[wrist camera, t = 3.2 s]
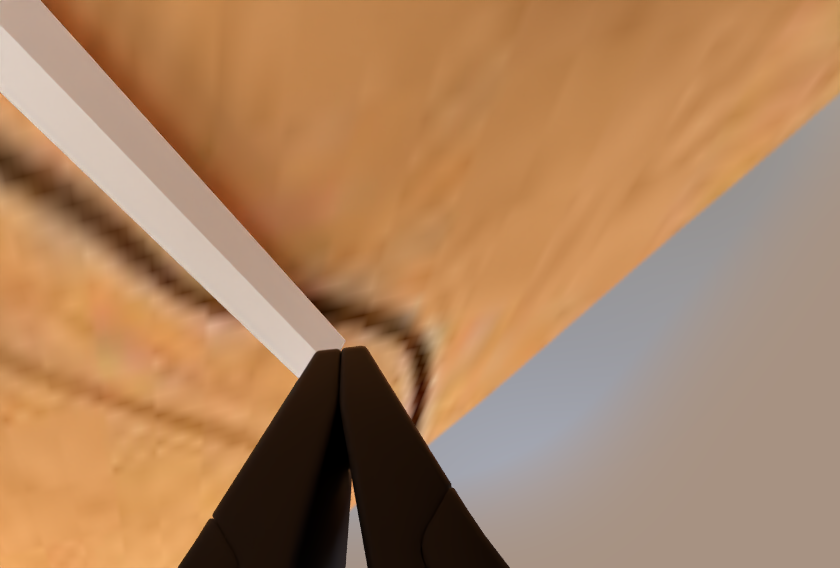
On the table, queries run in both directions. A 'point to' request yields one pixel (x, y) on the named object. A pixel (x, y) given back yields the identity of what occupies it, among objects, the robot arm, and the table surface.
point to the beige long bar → (152, 181)
